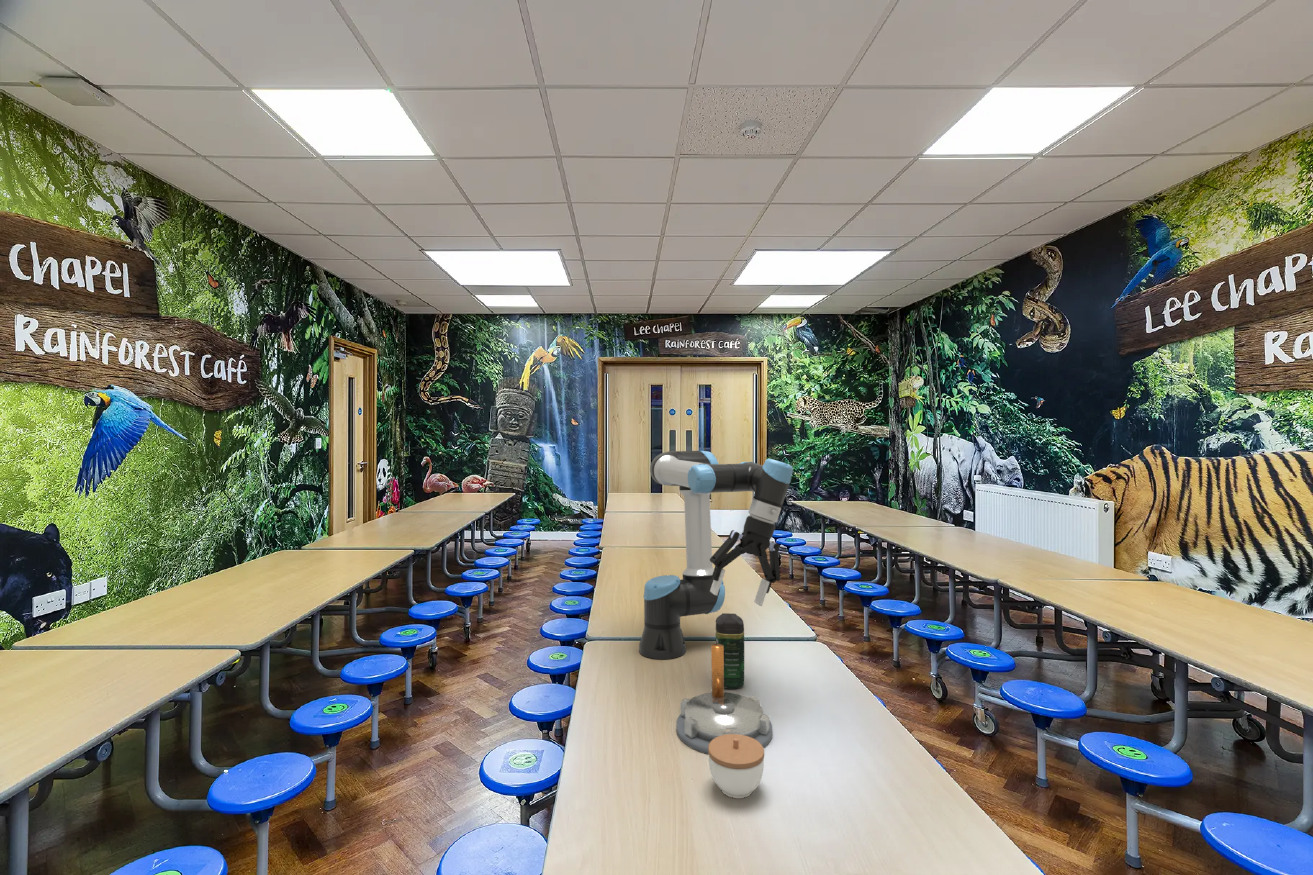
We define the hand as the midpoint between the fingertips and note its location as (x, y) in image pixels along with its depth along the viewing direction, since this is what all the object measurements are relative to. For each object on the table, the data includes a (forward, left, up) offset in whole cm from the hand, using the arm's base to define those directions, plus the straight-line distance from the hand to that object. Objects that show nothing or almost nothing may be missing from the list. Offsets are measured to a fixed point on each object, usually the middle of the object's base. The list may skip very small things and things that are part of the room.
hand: (736, 598), depth 140 cm
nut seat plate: (+6, -11, -27) cm, 30 cm away
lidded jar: (+23, -25, -27) cm, 44 cm away
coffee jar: (-11, +9, -27) cm, 31 cm away
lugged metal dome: (+6, -11, -25) cm, 28 cm away
